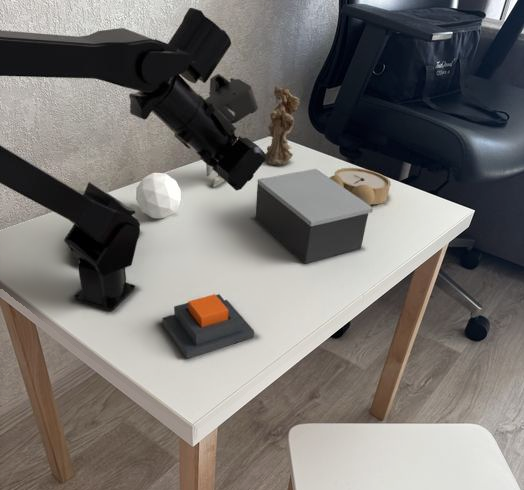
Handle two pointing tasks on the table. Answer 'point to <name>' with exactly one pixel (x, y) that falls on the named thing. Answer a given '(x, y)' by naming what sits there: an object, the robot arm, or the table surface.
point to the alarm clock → (363, 184)
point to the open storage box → (308, 230)
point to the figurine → (281, 127)
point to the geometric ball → (158, 195)
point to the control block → (206, 331)
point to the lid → (314, 197)
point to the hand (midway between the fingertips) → (250, 177)
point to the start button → (208, 310)
